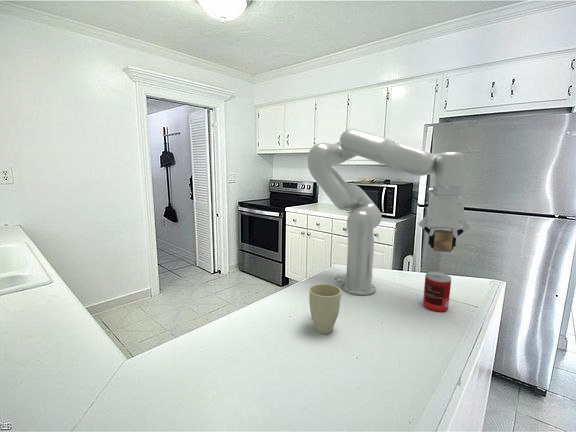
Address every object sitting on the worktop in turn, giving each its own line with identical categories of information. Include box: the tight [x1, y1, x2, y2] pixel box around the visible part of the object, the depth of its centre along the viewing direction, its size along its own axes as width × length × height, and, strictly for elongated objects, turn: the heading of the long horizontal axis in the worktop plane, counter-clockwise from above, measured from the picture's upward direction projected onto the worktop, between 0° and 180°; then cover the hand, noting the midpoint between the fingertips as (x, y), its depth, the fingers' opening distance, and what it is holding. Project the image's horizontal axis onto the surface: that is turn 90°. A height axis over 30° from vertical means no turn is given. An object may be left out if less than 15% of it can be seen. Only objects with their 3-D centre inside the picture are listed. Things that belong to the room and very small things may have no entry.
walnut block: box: [432, 229, 453, 253], centre depth 94 cm, size 5×5×6 cm
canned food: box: [422, 271, 452, 313], centre depth 97 cm, size 8×8×11 cm
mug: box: [308, 283, 342, 335], centre depth 84 cm, size 11×10×12 cm
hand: (441, 247), depth 95 cm, fingers closed on walnut block, 4 cm apart
